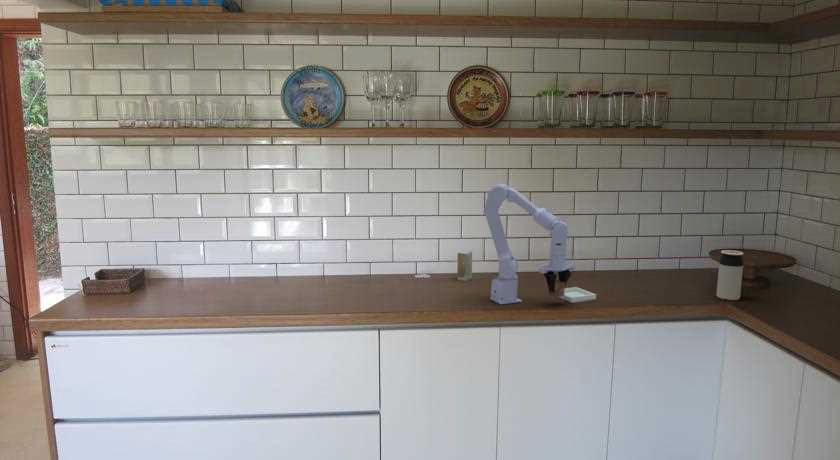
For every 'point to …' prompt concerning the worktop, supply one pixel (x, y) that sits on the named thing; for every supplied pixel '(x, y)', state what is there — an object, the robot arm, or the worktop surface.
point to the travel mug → (730, 275)
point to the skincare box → (464, 265)
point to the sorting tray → (577, 295)
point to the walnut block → (558, 288)
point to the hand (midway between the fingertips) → (556, 290)
